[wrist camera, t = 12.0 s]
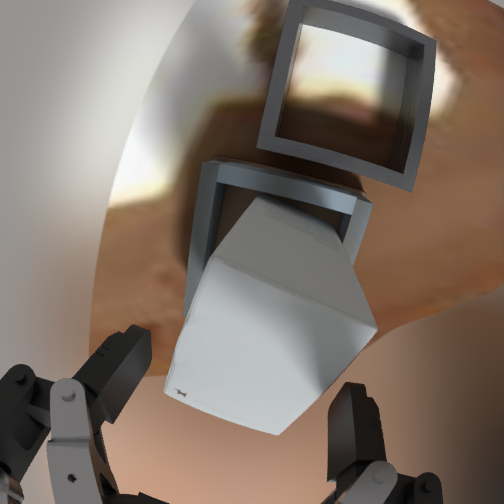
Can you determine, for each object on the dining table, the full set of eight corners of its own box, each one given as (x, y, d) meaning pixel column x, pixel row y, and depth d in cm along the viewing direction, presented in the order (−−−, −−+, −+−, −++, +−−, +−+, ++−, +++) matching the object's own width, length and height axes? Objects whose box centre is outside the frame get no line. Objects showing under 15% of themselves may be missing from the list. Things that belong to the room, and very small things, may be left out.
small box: (290, 306, 23) (278, 439, 11) (223, 276, 23) (158, 394, 11) (336, 224, 20) (383, 330, 8) (260, 188, 20) (204, 252, 8)
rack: (363, 191, 20) (378, 201, 16) (317, 324, 25) (319, 354, 21) (216, 155, 21) (198, 157, 17) (195, 294, 26) (179, 318, 22)
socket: (419, 52, 14) (436, 40, 11) (395, 185, 19) (411, 192, 16) (292, 13, 15) (291, -7, 12) (262, 148, 20) (256, 147, 17)
